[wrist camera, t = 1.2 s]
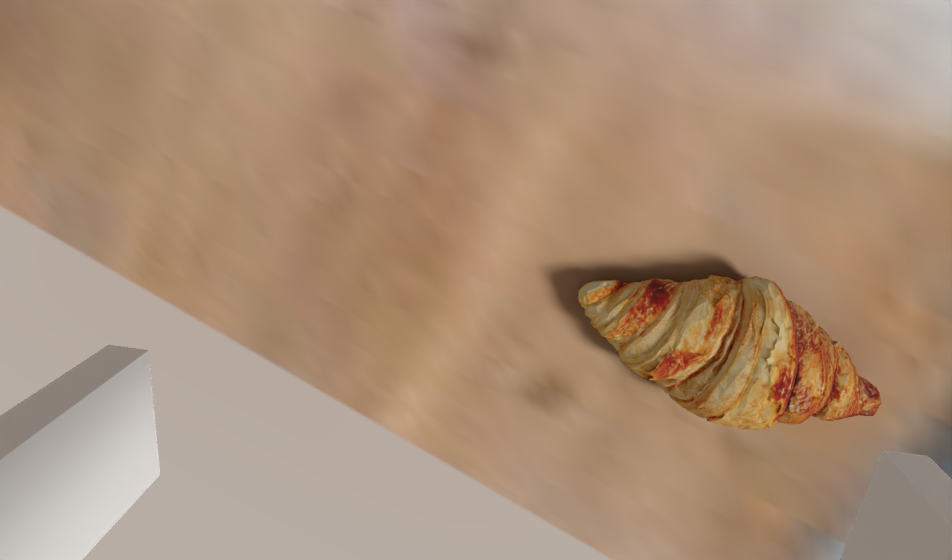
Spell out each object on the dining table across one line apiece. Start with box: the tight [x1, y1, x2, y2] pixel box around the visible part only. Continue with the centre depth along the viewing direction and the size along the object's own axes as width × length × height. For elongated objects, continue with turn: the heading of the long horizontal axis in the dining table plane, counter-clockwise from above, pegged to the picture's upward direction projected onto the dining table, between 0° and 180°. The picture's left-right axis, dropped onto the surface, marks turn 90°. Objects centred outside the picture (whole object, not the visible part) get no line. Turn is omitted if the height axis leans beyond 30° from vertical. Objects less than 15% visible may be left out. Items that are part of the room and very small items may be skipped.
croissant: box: [578, 275, 881, 430], centre depth 40 cm, size 21×10×8 cm, turn 71°
